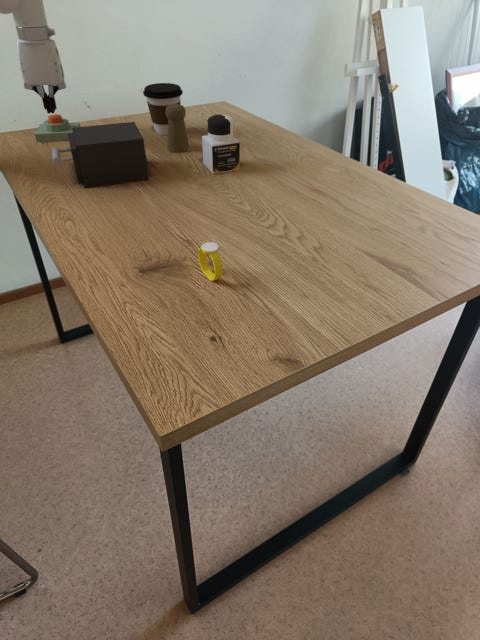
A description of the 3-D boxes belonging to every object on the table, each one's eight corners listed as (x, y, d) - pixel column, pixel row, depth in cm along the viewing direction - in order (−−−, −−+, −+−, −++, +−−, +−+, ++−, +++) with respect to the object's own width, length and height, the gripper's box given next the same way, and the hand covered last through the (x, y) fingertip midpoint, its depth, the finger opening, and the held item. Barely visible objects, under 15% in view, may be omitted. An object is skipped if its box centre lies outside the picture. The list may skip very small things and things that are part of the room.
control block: (36, 142, 126) (32, 127, 123) (42, 131, 132) (38, 117, 130) (77, 140, 127) (74, 125, 124) (80, 129, 134) (77, 115, 131)
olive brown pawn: (163, 150, 121) (158, 106, 114) (174, 143, 126) (170, 100, 119) (183, 153, 120) (179, 109, 113) (193, 146, 124) (190, 103, 117)
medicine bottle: (213, 174, 109) (211, 123, 102) (203, 164, 114) (200, 114, 107) (240, 170, 112) (240, 119, 104) (229, 160, 117) (228, 110, 109)
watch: (195, 270, 78) (193, 240, 74) (209, 265, 79) (207, 235, 75) (212, 287, 74) (210, 257, 70) (226, 282, 75) (226, 252, 72)
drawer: (59, 186, 102) (49, 151, 96) (57, 167, 110) (48, 134, 105) (138, 176, 106) (133, 142, 101) (130, 159, 114) (125, 127, 109)
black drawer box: (85, 188, 103) (75, 145, 97) (81, 167, 112) (72, 127, 106) (148, 179, 107) (143, 138, 101) (139, 160, 116) (134, 121, 110)
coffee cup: (148, 126, 137) (143, 82, 129) (185, 125, 138) (182, 82, 130) (147, 138, 128) (141, 92, 121) (185, 137, 129) (182, 92, 121)
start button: (48, 125, 126) (46, 118, 125) (50, 121, 128) (48, 114, 127) (61, 124, 126) (60, 117, 125) (63, 120, 129) (62, 114, 128)
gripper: (66, 32, 117) (80, 107, 129) (5, 32, 115) (25, 108, 127) (62, 36, 112) (77, 115, 123) (-2, 36, 110) (20, 116, 121)
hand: (51, 111), depth 125 cm, fingers closed
